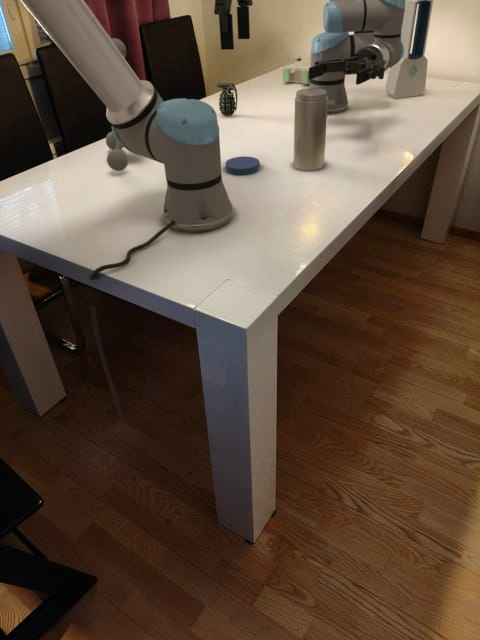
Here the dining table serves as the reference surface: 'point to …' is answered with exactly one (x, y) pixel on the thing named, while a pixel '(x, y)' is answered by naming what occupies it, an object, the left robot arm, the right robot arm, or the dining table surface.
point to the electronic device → (412, 67)
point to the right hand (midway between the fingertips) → (333, 76)
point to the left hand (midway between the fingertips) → (236, 44)
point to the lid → (242, 165)
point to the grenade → (227, 99)
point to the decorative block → (297, 72)
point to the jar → (310, 128)
